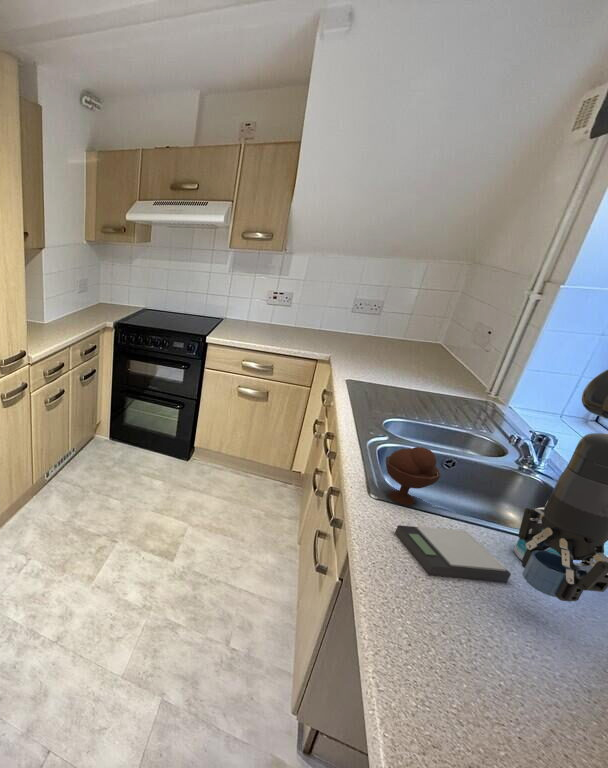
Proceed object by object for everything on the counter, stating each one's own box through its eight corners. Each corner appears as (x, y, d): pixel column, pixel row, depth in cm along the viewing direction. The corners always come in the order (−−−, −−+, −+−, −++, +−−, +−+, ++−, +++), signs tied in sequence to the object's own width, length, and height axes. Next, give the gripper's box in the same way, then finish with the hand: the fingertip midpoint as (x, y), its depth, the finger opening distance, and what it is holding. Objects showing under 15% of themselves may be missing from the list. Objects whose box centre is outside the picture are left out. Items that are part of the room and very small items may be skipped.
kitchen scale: (462, 539, 91) (466, 529, 90) (507, 582, 79) (512, 571, 78) (394, 533, 92) (398, 523, 91) (429, 575, 81) (433, 564, 80)
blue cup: (548, 574, 72) (559, 551, 70) (580, 602, 67) (594, 578, 65) (511, 571, 73) (522, 548, 71) (541, 598, 67) (553, 574, 65)
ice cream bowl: (424, 493, 106) (442, 442, 101) (430, 518, 97) (451, 463, 92) (375, 481, 111) (391, 431, 106) (377, 503, 102) (394, 450, 97)
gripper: (671, 534, 56) (616, 623, 62) (570, 475, 70) (532, 553, 76) (610, 529, 57) (561, 618, 63) (522, 472, 71) (488, 550, 77)
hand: (545, 582), depth 69 cm, fingers closed on blue cup, 6 cm apart
